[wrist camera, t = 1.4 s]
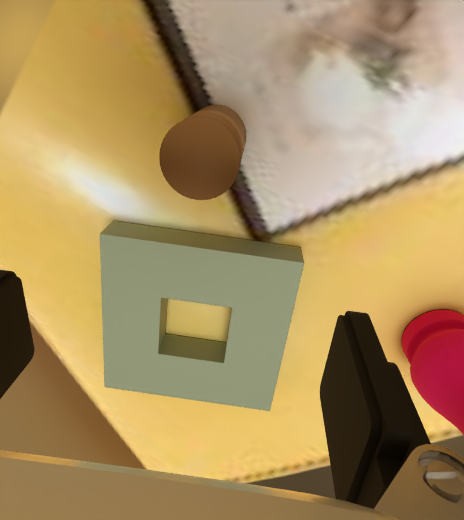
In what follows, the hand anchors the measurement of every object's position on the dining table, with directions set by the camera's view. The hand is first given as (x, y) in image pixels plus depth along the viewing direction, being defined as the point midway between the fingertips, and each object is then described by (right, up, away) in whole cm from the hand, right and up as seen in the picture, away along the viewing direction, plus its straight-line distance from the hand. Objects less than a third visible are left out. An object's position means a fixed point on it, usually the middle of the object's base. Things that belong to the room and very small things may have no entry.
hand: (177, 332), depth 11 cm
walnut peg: (0, +11, +18) cm, 21 cm away
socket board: (-2, -3, +25) cm, 25 cm away
